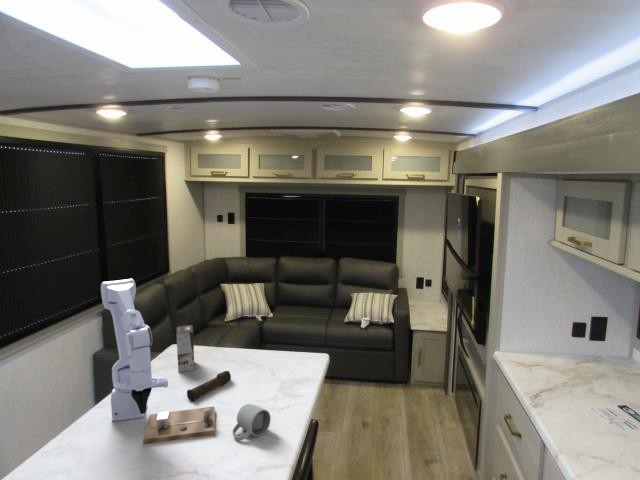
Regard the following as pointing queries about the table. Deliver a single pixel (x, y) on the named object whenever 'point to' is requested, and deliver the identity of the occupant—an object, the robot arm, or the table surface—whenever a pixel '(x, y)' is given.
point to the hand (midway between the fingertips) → (143, 411)
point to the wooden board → (181, 425)
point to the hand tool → (209, 385)
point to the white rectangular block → (163, 420)
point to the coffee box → (185, 348)
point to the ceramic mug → (252, 421)
